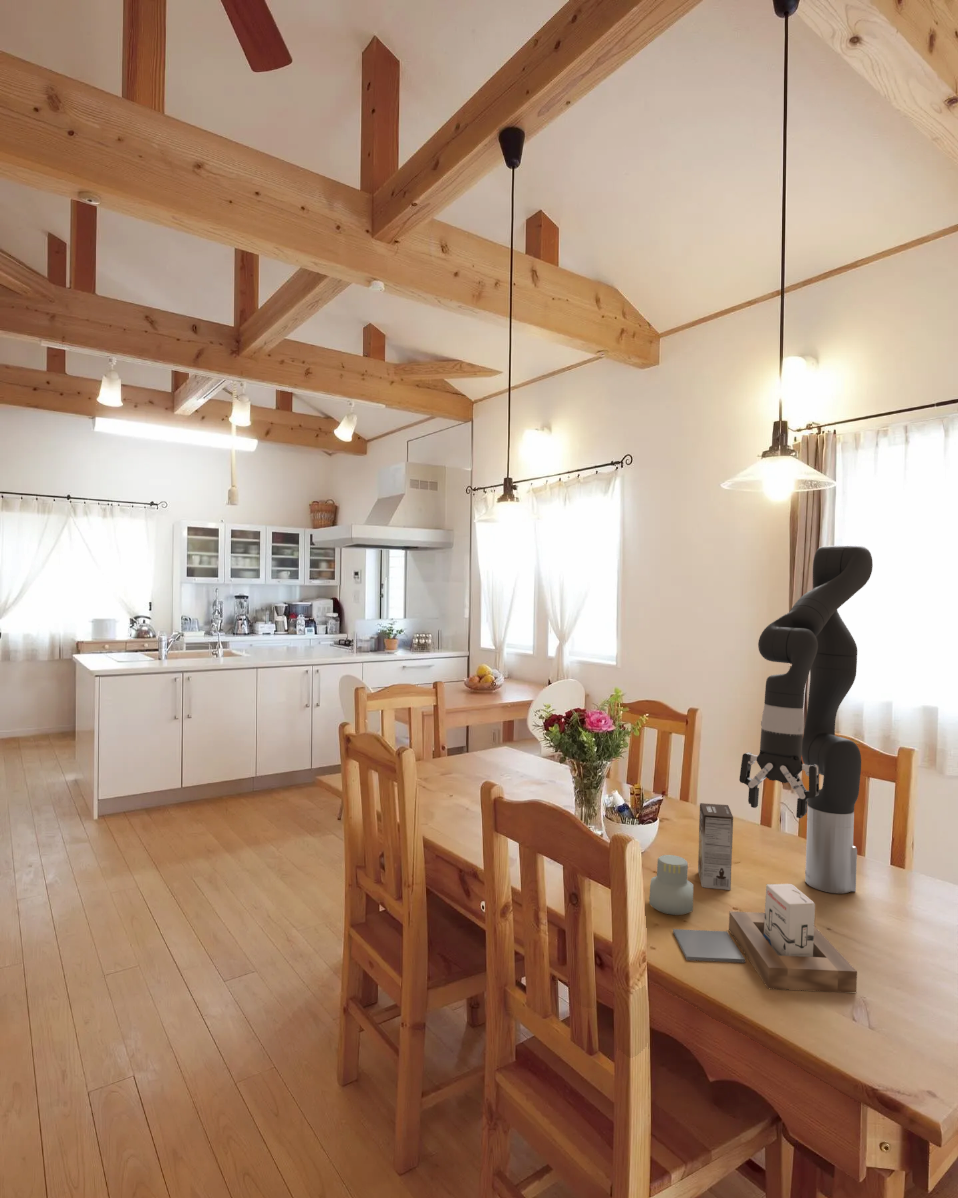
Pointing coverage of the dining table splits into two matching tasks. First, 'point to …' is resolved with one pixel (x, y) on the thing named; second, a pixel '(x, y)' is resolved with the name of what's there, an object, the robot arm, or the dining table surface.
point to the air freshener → (671, 886)
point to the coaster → (708, 945)
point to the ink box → (789, 920)
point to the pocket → (792, 959)
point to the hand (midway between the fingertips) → (776, 812)
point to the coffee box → (715, 846)
